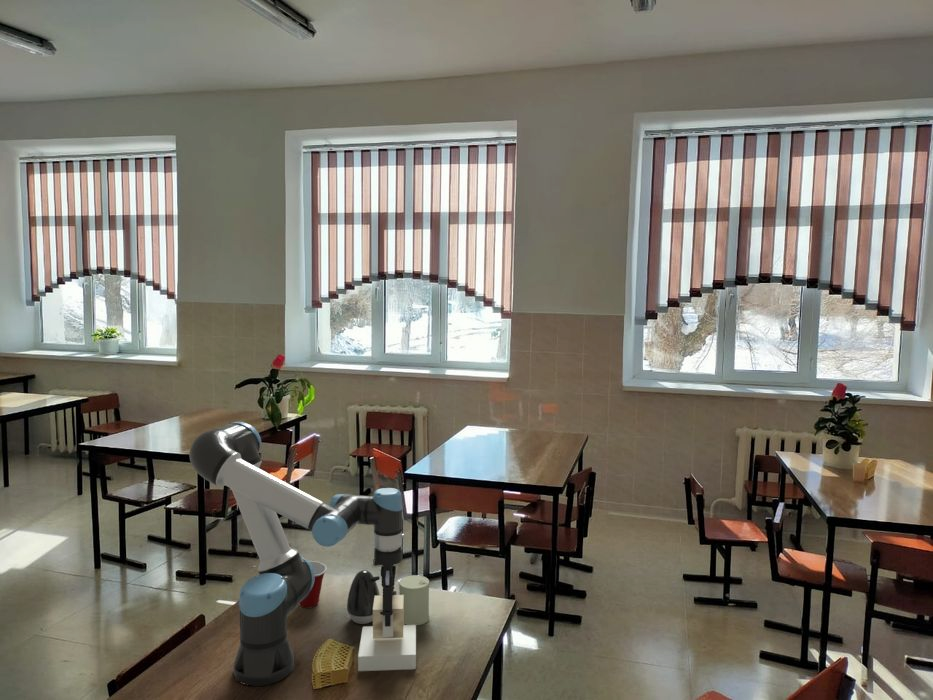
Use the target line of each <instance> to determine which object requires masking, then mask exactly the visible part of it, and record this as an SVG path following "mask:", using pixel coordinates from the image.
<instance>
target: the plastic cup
mask: <svg viewBox="0 0 933 700" xmlns="http://www.w3.org/2000/svg"><path fill="white" fill-rule="evenodd" d="M308 561H309V562H310V563H311V565H312V567H313V569H314V574H315V580H314V585H313V587H312V589H311V591H310V592H309V594H308V595H307V597H306V598H305V599H304V600H302V601H301V602H300V603H299V606H300V605H301V606H302V608H304V607H306V609H309V608H308V607H311V608H314V607H316V606H317V605H318V604H319V601H320V594H321V590H322V586H323V585H322V584H323V579H324V576H325V573H326V572H327V566H326V564H324V563H322V562H320V561H314V560H313V561H312V560H308ZM301 606H300V607H301ZM313 606H314V607H313Z"/></svg>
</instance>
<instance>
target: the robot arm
mask: <svg viewBox="0 0 933 700" xmlns="http://www.w3.org/2000/svg"><path fill="white" fill-rule="evenodd" d="M261 447H262V438H261V435H260V434H259V431H258V430H257V428H255V427H254V426H253V425H251V424H250V423H247V422H244V421H234V422H229V423H225V424H224V425H220V426H218V427H215V428H213V429H210V430H209V429H208V430H207V431H204V432H202V433H200V434H199V435H198V436H197V437H196V438H195V439H194V440H193V441H192V443H191V446H190V448H189V461H190V464H191V466H192V468H193V470H195V472H196V473H197V474H198V475H199V476H201V477H202V478H203V479H204V480H206V481H208V482H209V483H211V484H213V485H215V486H217V487H219V488H221V487H224V486H226V487H228V488H230V489H231V492H232V494H233V496H234V499H235V501H236V504H237V507H238V508H239V511H240V514H241V516H242V519H243V521H244V524H245V527H246V528H247V529H246V530H247V532H248V534H249V537H250V538H251V541H252V544H253V547H254V548H255V550H256V554H257V557H258V558H259V561H260V562H259V564H258V568H257V572H258V575H257V576H253V577H251V578H249V579H248V580H247V581H245V582H244V583H243V584H242V586H241V588H240V591H239V596H238V597H239V598H238V608H239V609H238V611H239V615H238V616H239V638H240V639H239V643H240V644H239V647H238V650H237V653H236V656H235V659H234V663H233V677H235V678H236V679H235V678H234V679H235V680H236V681H237V680H238V681H239V682H242V683H245V684H248V685H253V686H252V687H262V686H263V687H264V686H267V685H273V684H275V683H277V682H279V681H281V680H283V679H285V678H286V677H288V676H289V675H290V674H291V673H292V671H293V670H294V668H295V654H294V652H293V649H292V646H291V644H290V641H289V639H288V631H287V630H288V625H287V623H288V616H289V614H291V613H292V612H293V611H294V610H295V608H297V606H298V605H300V602H301V601H302V600H304V599H305V598H306V597H307V595H308V594H309V592H310V591H311V589H312V587H313V585H314V580H315V574H314V569H313V567H312V565H311V563H310V562H309V561H310V560H308V559H306V558H304V556H301V555H300V552H299V551H298V550H297V549H296V548H292V547H291V546H290V543H289V541H288V539H287V536H286V534H285V531H284V528H283V526H282V524H281V520H280V519H279V516H278V515H281V516H283V517H284V518H286V519H288V520H289V521H292V522H294V523H296V524H298V526H301V527H303V528H305V529H307V530H309V531H311V534H312V537H313V539H314V540H315V542H316V543H317V544H318V545H320V546H322V547H327V548H328V547H333V546H335V545H336V544H338V543H339V542H341V541H342V540H344V538H345V537H346V536H347V535H348V533H349V532H350V531H352V530H353V529H354V528H355V527H356V526H357V525H366V526H367V525H370V526H371V525H372V526H373V546H374V551H373V553H374V554H373V557H374V558H373V561H374V562H375V563H376V564H377V565H380V566H381V567H380V568H381V569H380V576H381V577H380V578H381V587H382V595H383V612H380V615H383V637H393V610H392V598H393V595H397V590H394V589H395V578H396V574H397V573H396V572H397V571H396V570H397V566H396V565H398V564H400V563H401V562H402V560H403V538H405V534H404V533H403V508H404V507H403V500H402V497H403V496H402V493H401V491H400V490H399V489H397V488H394V487H381V488H379V489H375V491H374V492H373V495H361V494H350V493H342V494H341V493H340V494H339V493H338V494H337V493H336V494H334V495H333V496H332V497H331V500H330V501H329V504H327V503H326V502H324V501H322V500H320V499H318V498H316V497H314V496H312V495H310V494H309V493H307V492H305V491H302V489H299V488H297V487H295V486H293V485H291V484H289V482H286V481H284V480H281V478H278V477H276V476H274V475H273V474H270V472H269V473H268V471H265V470H263V469H261V468H260V467H261V464H262V463H263V462H262V457H261V456H260V454H259V452H260V450H261ZM238 681H237V682H238ZM239 682H238V683H239ZM248 685H247V686H248Z"/></svg>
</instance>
